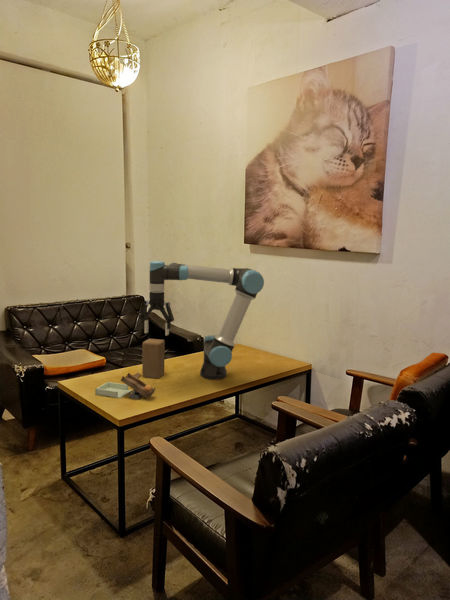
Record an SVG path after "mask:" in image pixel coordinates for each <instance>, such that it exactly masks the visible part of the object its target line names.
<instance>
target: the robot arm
mask: <svg viewBox="0 0 450 600" xmlns="http://www.w3.org/2000/svg"><path fill="white" fill-rule="evenodd" d="M187 280H194V281H195V280H196V281H204V282H205V281H206V282H214V283H225V284H228V285H229V286H233V287H235V289H234V291H235V296H234V298H233V301H232V303H231V306H230V307H229V310H228V312H227V314H226V317H225V319H224V322H223V324H222V327H221V329H220V331H219V333H218V334H217V335H216V334H215V335H206V336H204V337H203V363H202V365H201V368H200V372H199V373H200V374H199V376H200V377H201V378H203V379H207V380H222V379H225V378H227V377H228V376H227V375H228V373H227V371H228V370H227V368H226V366H227V365H229V364H230V362H231V361H232V358H233V354H232V353H233V350H234V348H235V343H234V341H235V338H236V336H237V335H238V331H239V330H240V326H241V325H242V323H243V320H244V318H245V315H246V313H247V311H248V309H249V306H250V304H251V301H252V300H255V299H256V297H257V296H258V293H260V292H261V291H262V289H263V288H264V284H265V279H264V277H263V275H262V274H261V273H260V272H259V271H257V270H256V269H252V268H246V267H245V268H240V267H239V268H237V267H235V268H234V267H231V268H230V269H228V268H221V267H220V268H218V267H211V266H203V265H202V266H201V265H191V264H183V263H177V262H171V263H170V264H169V265H167V264H166V263H165V261H163V260H152V261H150V262H149V288H148V289H149V292H148V293H149V300H148V299H147V300H144V301H143V306H142V310H141V312H140V316H139V319H140V320H142V326H143V327H144V334H147V333H149V319H148V318H149V317H150V315H151V313H152V312H153V311H160V313H161V314H162V316H163V318H164V320H165V321H166V322H165V323H164V326H165V329H164V330H165V331H164V332H165V336H169V334H170V329H171V325H172V322H174V321H175V317H174V314H173V311H172V309H171V303H170V301H169V302H165V281H187ZM148 306H150V307H149V308H148ZM164 306H165V307H164ZM147 309H148V310H147Z"/></svg>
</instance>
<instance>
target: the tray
mask: <svg viewBox="0 0 450 600" xmlns="http://www.w3.org/2000/svg"><path fill="white" fill-rule="evenodd" d="M132 392H133V389H129V386H128V385H126V384H125V383H118V382H113V381H112V382H111V381H107V382H105V383H103V384H101V385H100V386H98V387H96V388H95V395H96V396H103V397H109V398H114V399H115V398H116V399H122V398H124V397H125V396H127V395H129V394H130V393H132Z"/></svg>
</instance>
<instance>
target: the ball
mask: <svg viewBox="0 0 450 600" xmlns="http://www.w3.org/2000/svg"><path fill="white" fill-rule="evenodd" d="M152 388H153V387H152V385H150V384H147V385H146V386H145V388H144V390H146V391H147V392H149V391H150V390H152Z"/></svg>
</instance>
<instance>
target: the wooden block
mask: <svg viewBox="0 0 450 600" xmlns="http://www.w3.org/2000/svg"><path fill="white" fill-rule="evenodd" d="M165 345H166V342H165V339H157V338H148V339H146V340H144V341H143V342H142V357H141V358H142V362H141V364H142V374H141V377H143V378H149V379H160V378H161V377H162V376H163V375H164V374H165V359H166V358H165V354H166V353H165V349H166V347H165Z"/></svg>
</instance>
